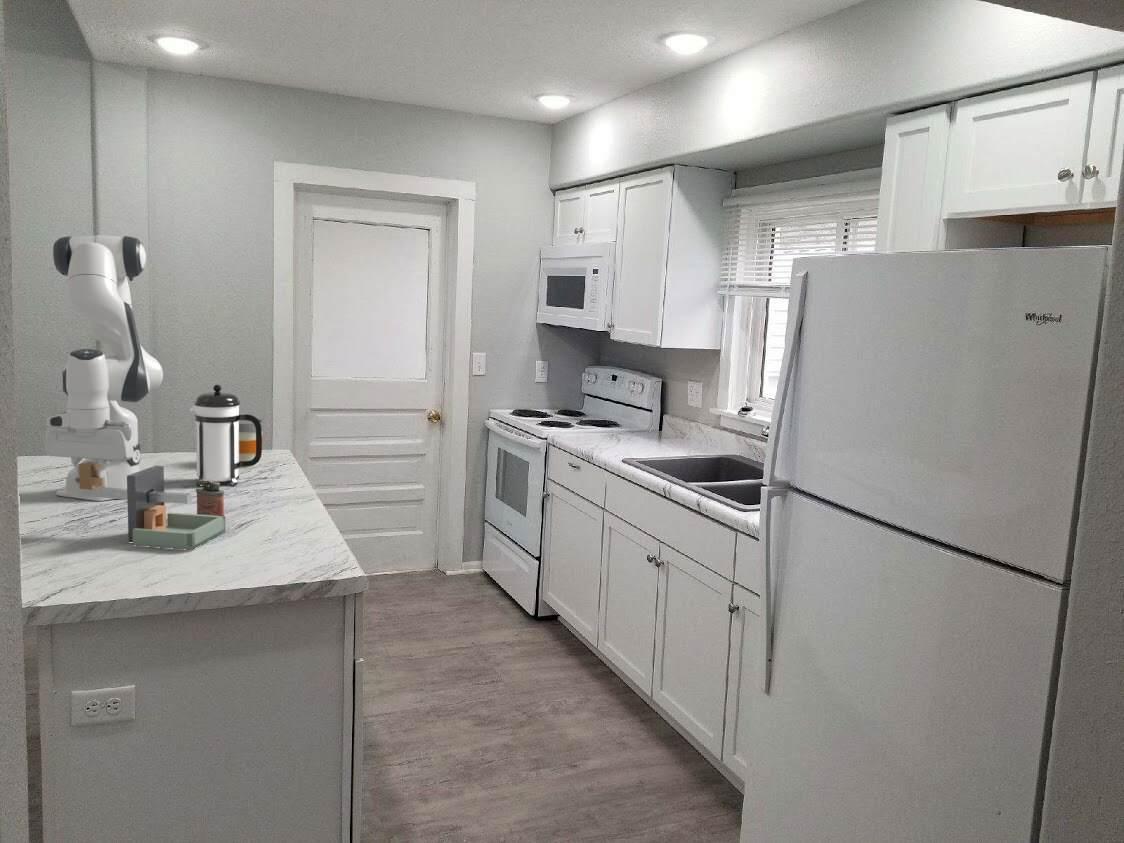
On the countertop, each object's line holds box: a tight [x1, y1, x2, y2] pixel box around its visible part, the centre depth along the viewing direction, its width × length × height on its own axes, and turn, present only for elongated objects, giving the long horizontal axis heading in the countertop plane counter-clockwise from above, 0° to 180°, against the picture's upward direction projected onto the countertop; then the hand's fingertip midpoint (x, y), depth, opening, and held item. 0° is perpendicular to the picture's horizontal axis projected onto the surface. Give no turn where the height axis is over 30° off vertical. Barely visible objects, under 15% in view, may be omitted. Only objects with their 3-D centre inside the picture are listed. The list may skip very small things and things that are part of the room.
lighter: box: [195, 479, 225, 516], centre depth 226 cm, size 8×3×10 cm, turn 71°
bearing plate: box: [126, 465, 165, 543], centre depth 207 cm, size 2×12×16 cm, turn 175°
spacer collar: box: [144, 505, 167, 530], centre depth 207 cm, size 2×6×6 cm, turn 175°
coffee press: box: [189, 384, 263, 487], centre depth 264 cm, size 17×16×30 cm
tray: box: [132, 511, 226, 551], centre depth 207 cm, size 14×16×4 cm
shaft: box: [79, 461, 193, 505], centre depth 207 cm, size 26×4×8 cm, turn 85°
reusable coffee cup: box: [239, 418, 265, 469], centre depth 290 cm, size 13×13×15 cm
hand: (90, 476), depth 207 cm, fingers closed on shaft, 3 cm apart
